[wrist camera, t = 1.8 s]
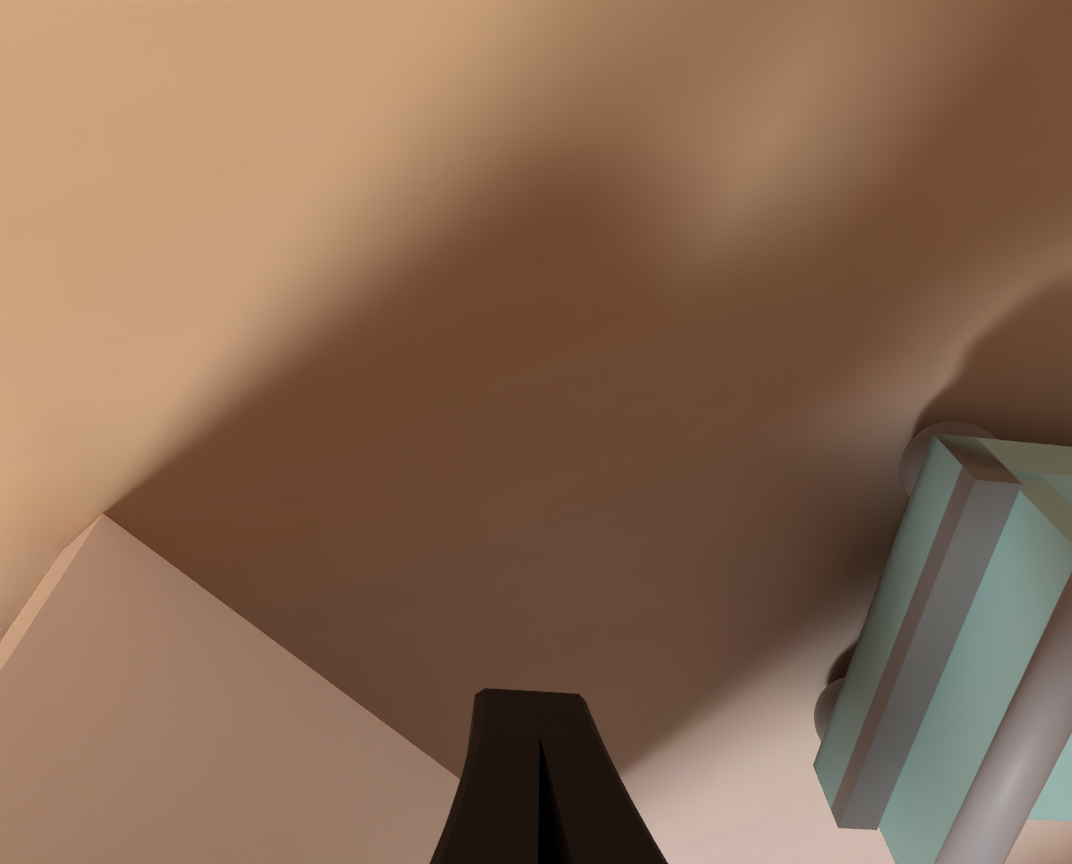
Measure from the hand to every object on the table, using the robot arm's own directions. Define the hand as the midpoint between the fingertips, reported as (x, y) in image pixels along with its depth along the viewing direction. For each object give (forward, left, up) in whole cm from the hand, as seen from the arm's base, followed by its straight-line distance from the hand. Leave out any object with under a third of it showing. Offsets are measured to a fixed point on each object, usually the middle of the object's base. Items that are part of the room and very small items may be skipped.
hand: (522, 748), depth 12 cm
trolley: (0, -10, -5) cm, 11 cm away
